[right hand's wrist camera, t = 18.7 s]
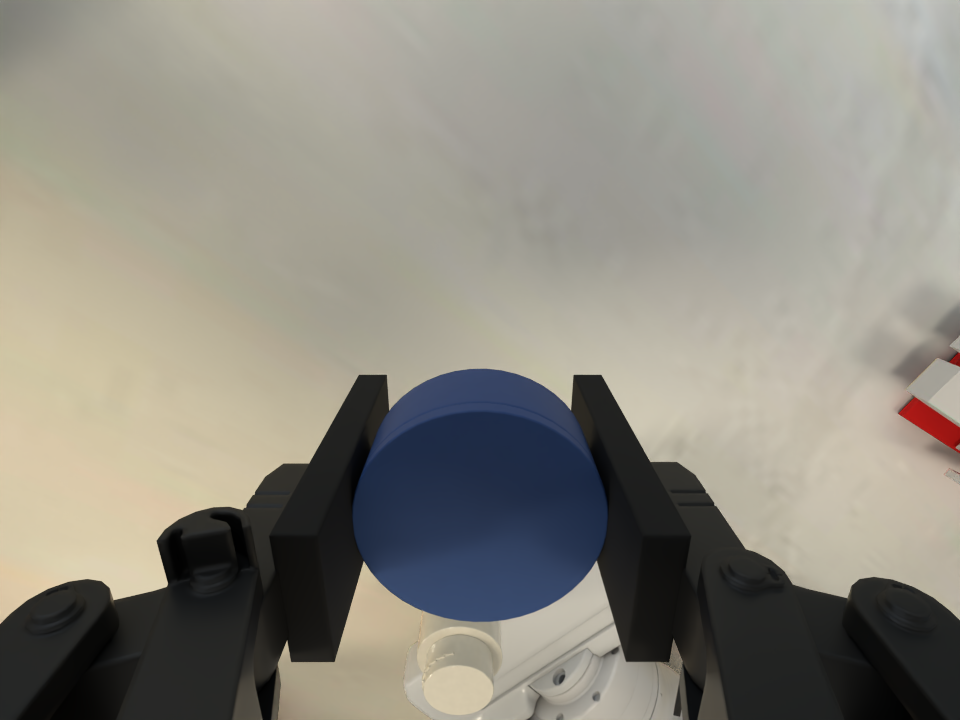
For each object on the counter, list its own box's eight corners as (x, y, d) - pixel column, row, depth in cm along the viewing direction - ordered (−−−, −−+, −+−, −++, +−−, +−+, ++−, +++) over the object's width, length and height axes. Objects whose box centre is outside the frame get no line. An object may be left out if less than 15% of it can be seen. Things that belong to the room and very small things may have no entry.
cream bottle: (434, 480, 41) (410, 658, 26) (495, 479, 41) (504, 657, 26) (436, 530, 42) (414, 722, 28) (494, 529, 42) (503, 722, 28)
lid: (509, 584, 14) (514, 656, 12) (334, 495, 13) (307, 556, 11) (633, 438, 12) (662, 493, 10) (444, 324, 11) (436, 360, 9)
